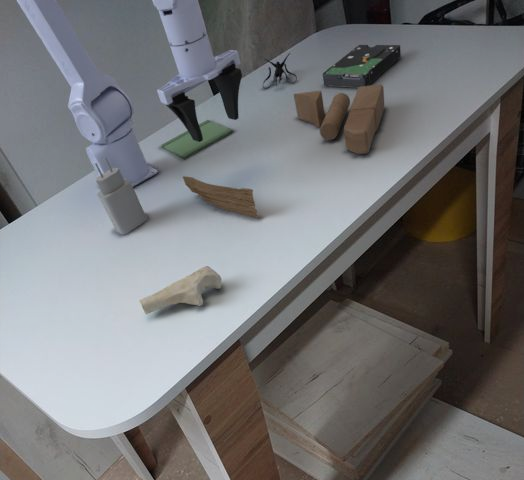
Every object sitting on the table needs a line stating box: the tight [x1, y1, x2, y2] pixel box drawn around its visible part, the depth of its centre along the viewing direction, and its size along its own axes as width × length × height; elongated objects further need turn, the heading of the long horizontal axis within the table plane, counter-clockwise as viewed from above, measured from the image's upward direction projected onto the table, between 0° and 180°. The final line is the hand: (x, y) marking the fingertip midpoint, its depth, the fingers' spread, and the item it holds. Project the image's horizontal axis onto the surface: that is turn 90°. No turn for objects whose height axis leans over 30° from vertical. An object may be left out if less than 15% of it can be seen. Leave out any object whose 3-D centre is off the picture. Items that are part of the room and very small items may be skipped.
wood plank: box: [182, 175, 259, 220], centre depth 85 cm, size 15×2×5 cm, turn 49°
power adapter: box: [95, 157, 148, 236], centre depth 86 cm, size 3×5×12 cm, turn 134°
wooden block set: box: [293, 84, 385, 155], centre depth 94 cm, size 17×6×18 cm
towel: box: [160, 119, 234, 160], centre depth 108 cm, size 12×10×1 cm
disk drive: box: [322, 44, 402, 89], centre depth 111 cm, size 10×3×15 cm
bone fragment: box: [138, 265, 222, 315], centre depth 71 cm, size 5×11×4 cm, turn 111°
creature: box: [262, 52, 298, 90], centre depth 117 cm, size 8×5×8 cm
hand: (216, 128), depth 86 cm, fingers open, 7 cm apart
